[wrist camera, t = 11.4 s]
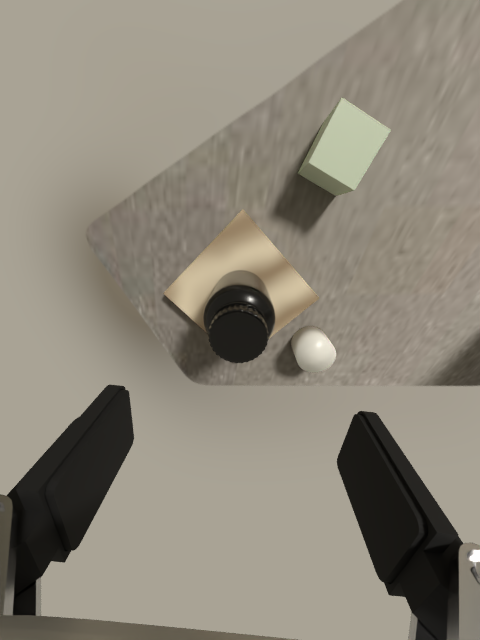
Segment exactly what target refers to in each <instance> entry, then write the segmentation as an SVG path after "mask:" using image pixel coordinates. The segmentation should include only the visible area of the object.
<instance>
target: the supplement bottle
mask: <svg viewBox="0 0 480 640" xmlns="http://www.w3.org/2000/svg"><path fill="white" fill-rule="evenodd" d="M203 321H204V327H205V330H206V332H207V334H208V336H209V342H210V346H211V347H212V348H213V351H215V352H216V354H217V355H219V356H220V358H223V359H224V360H226V361H230V362H235V363H243V362H248V361H250V360H253V359H254V358H257V357H258V356H259V355H260V354H262V351H264V350H265V347H266V345H267V341H268V339H269V337H270V336H271V334H272V332H273V330H274V326H275V311H274V307H273V304H272V301H271V299H270V296H269V293H268V291H267V288H266V286H265V284H264V282H263V281H262V280H261V279H260V278H259V277H258V276H257V275H256V274H254V273H252V272H249V271H245V270H236V271H232V272H229V273H227V274H226V275H224V276H223V277H222V278H221V279H220V280H219V281H218V283H217V284H216V286H215V288H214V290H213V292H212V294H211V296H210V298H209V300H208V302H207V304H206V306H205V310H204V315H203Z"/></svg>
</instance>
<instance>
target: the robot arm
mask: <svg viewBox="0 0 480 640" xmlns="http://www.w3.org/2000/svg"><path fill="white" fill-rule="evenodd" d="M133 440H134V434H133V424H132V416H131V406H130V397H129V391H128V390H125V387H124V386H117V385H108V386H107V387H106V388H105V389H104V390H103V391H102V392H101V393H100V394H99V396H98V397H97V398H96V399H95V400H94V401H93V402H92V403H91V405H90V406H89V407H88V408H87V409H86V410H85V412H84V413H83V414H82V415H81V416H80V417H79V418H77V419H75V420H74V421H73V422H72V423H71V424H70V425H69V426H68V428H67V429H66V430H65V431H64V432H63V433H62V434H61V436H60V437H59V438H58V439H57V440H56V441H55V442H54V443H53V445H52V446H51V447H50V448H49V449H48V450H47V451H46V452H45V453H44V454H43V456H42V457H41V458H40V459H39V460H38V461H37V462H36V463H35V464H34V466H33V467H32V468H31V469H30V470H29V471H28V472H27V473H26V475H25V476H24V477H23V478H22V479H21V480H20V481H19V483H18V484H17V485H16V486H15V487H14V488H13V489H12V490H11V491H10V492H9V494H8V495H7V496H5V495H0V640H295V639H286V638H276V637H265V636H255V635H246V634H236V633H226V632H216V631H206V630H196V629H186V628H175V627H165V626H154V625H143V624H131V623H121V622H111V621H101V620H89V619H75V618H61V617H47V616H41V576H42V575H43V573H44V572H45V570H46V569H47V567H48V565H49V563H50V562H51V561H56V562H65V561H66V559H67V557H68V555H69V554H70V552H71V550H75V549H76V548H77V547H78V546H79V544H80V543H81V541H82V539H83V537H84V535H85V533H86V531H87V529H88V528H89V526H90V524H91V522H92V520H93V518H94V516H95V514H96V513H97V510H98V509H99V507H100V505H101V503H102V501H103V499H104V497H105V495H106V494H107V492H108V490H109V488H110V486H111V484H112V482H113V480H114V478H115V477H116V475H117V473H118V471H119V469H120V467H121V465H122V463H123V461H124V460H125V458H126V456H127V454H128V452H129V450H130V448H131V446H132V444H133ZM337 465H338V469H339V472H340V475H341V477H342V480H343V483H344V486H345V488H346V491H347V494H348V497H349V499H350V502H351V505H352V508H353V510H354V513H355V516H356V519H357V521H358V524H359V527H360V529H361V532H362V535H363V538H364V540H365V543H366V546H367V548H368V551H369V554H370V557H371V560H372V562H373V565H374V568H375V571H376V573H377V575H378V577H379V579H380V580H381V581H382V582H384V583H385V586H386V589H387V591H388V594H389V595H392V596H403V597H406V599H407V602H408V604H409V606H410V609H411V611H412V613H411V621H410V629H409V637H408V640H480V545H477V544H475V543H464V544H463V542H462V541H461V540H460V538H459V537H458V534H457V532H456V530H455V529H454V527H453V526H452V524H451V523H450V522H449V520H448V518H447V517H446V516H445V514H444V513H443V511H442V510H441V508H440V507H439V505H438V504H437V502H436V501H435V499H434V498H433V496H432V495H431V493H430V492H429V490H428V489H427V487H426V486H425V484H424V483H423V481H422V480H421V478H420V477H419V476H418V474H417V473H416V471H415V470H414V469H413V467H412V465H411V464H410V462H409V461H408V459H407V458H406V456H405V455H404V453H403V452H402V450H401V449H400V447H399V446H398V444H397V443H396V442H395V440H394V439H393V437H392V436H391V434H390V433H389V431H388V430H387V428H386V427H385V425H384V424H383V422H382V421H381V419H380V418H379V416H378V415H377V414H376V413H373V412H364V411H360V412H358V414H355V415H354V417H353V419H352V422H351V424H350V427H349V429H348V432H347V435H346V437H345V440H344V442H343V445H342V448H341V450H340V453H339V455H338V458H337Z"/></svg>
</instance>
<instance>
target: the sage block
mask: <svg viewBox="0 0 480 640" xmlns="http://www.w3.org/2000/svg"><path fill="white" fill-rule="evenodd" d="M390 131H391V130H390V129H388V128H387V127H385V126H384V125H382V124H381V123H379V122H378V121H376V120H375V119H373V118H372V117H370V116H369V115H367V114H366V113H364V112H363V111H362V110H360V109H359V108H357V107H356V106H354V105H353V104H351V103H350V102H348V101H347V100H345V99H344V98H341V99H340V101H339V102H338V103H337V105H336V106H335V107H334V109H333V110H332V112H331V113H330V114H329V116H328V117H327V118H326V120H325V121H324V122H323V124H322V126H321V128H320V130H319V132H318V134H317V136H316V138H315V140H314V142H313V144H312V146H311V148H310V150H309V152H308V154H307V156H306V158H305V160H304V162H303V164H302V166H301V168H300V170H299V172H298V174H299V175H301V176H303V177H304V178H306V179H308V180H309V181H311V182H313V183H314V184H316V185H318V186H320V187H321V188H323V189H325V190H326V191H328V192H330V193H331V194H333V195H335V196H338V195H341V194H344V193H348V192H351V191H354V190H355V189H356V187H357V185H358V184H359V182H360V180H361V179H362V177H363V175H364V174H365V172H366V170H367V169H368V167H369V165H370V164H371V162H372V160H373V159H374V157H375V156H376V154H377V152H378V151H379V149H380V147H381V146H382V144H383V142H384V141H385V139H386V137H387V136H388V134H389V132H390Z"/></svg>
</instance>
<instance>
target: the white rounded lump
mask: <svg viewBox="0 0 480 640" xmlns="http://www.w3.org/2000/svg"><path fill="white" fill-rule="evenodd" d="M291 346H292V349H293V352H294V355H295V358H296V360H297V363H298V365H299V366H300V368H302V369H303V370H304V371H307V372H310V373H318V372H322V371H324V370H326V369H328V368H329V367H330V366H331V365H332V364H333V363H334V361H335V358H336V350H335V348H334V346H333V345H332V343H331V342H330V341H329V339H328V338H327V336H326V335H325V333H324V332H323V331H322V330H321V329H319V328H317V327H314V326H307V327H303V328H301V329H299V330H298V331H297V332H296V333H295V334H294V335H293V337H292V340H291Z"/></svg>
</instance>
